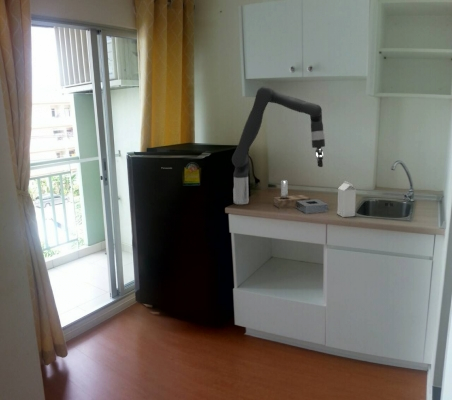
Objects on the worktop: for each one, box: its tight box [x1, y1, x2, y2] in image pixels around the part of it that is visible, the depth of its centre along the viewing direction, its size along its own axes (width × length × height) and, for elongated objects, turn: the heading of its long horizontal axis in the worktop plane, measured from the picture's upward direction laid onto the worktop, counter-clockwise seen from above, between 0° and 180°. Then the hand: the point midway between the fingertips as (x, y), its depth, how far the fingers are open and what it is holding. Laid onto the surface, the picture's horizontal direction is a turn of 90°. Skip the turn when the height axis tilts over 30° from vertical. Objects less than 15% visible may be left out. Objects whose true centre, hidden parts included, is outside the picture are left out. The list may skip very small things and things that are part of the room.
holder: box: [295, 198, 329, 215], centre depth 244 cm, size 14×14×4 cm
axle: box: [280, 179, 289, 200], centre depth 253 cm, size 4×4×16 cm
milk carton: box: [336, 180, 357, 218], centre depth 229 cm, size 7×7×19 cm
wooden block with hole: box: [273, 194, 311, 210], centre depth 256 cm, size 20×10×5 cm, turn 102°
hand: (320, 166), depth 245 cm, fingers open, 8 cm apart
